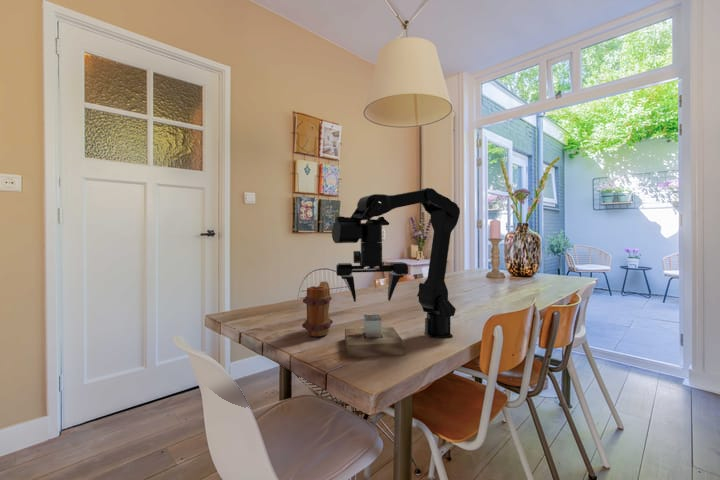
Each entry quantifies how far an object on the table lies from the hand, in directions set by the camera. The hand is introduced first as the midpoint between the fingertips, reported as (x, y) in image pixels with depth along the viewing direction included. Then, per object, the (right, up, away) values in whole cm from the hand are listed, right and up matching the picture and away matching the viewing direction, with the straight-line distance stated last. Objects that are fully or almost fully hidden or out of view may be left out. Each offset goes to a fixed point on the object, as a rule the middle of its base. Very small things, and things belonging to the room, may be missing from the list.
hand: (372, 301), depth 87 cm
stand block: (0, -12, 0) cm, 12 cm away
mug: (-15, -12, +13) cm, 24 cm away
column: (0, -12, 0) cm, 12 cm away
